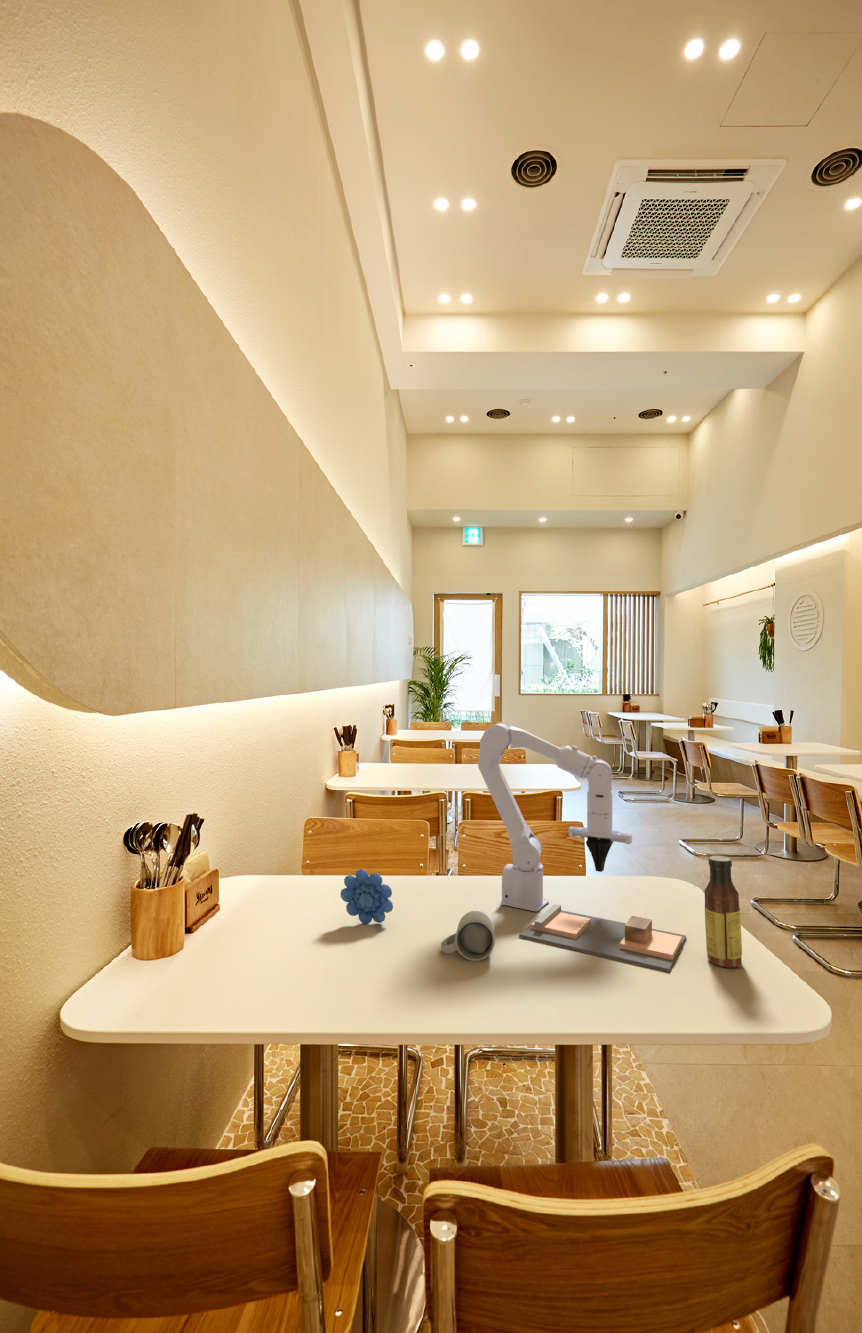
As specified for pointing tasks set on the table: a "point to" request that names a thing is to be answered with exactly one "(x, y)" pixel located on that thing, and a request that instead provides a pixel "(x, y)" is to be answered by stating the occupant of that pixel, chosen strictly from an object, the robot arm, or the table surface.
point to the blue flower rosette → (367, 896)
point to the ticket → (561, 923)
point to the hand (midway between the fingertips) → (599, 870)
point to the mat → (603, 942)
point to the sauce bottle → (722, 915)
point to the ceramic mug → (472, 937)
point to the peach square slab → (649, 939)
